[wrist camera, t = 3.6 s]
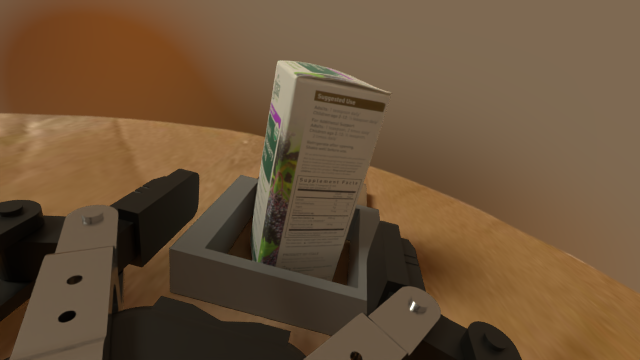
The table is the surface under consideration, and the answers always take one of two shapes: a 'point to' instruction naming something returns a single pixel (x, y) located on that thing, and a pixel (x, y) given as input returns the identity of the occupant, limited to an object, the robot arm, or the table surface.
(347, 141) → the syrup box
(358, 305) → the gray open storage bin
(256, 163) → the table surface
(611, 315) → the table surface
